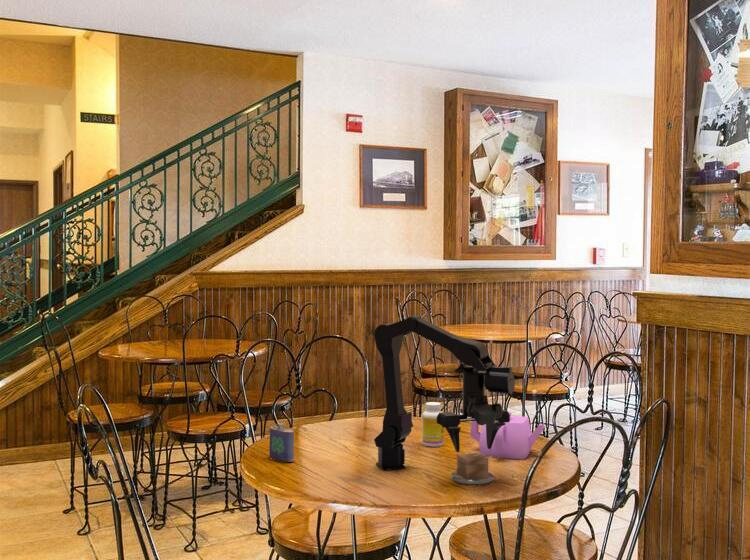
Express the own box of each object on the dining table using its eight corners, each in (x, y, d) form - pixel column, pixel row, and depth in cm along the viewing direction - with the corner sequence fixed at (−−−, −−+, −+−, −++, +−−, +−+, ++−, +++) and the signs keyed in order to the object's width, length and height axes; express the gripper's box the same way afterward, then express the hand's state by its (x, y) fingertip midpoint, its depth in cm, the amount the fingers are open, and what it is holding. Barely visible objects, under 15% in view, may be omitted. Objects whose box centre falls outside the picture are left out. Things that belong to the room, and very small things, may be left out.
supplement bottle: (444, 447, 222) (444, 405, 222) (422, 447, 222) (422, 405, 222) (442, 442, 229) (443, 401, 229) (421, 441, 229) (421, 401, 229)
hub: (463, 487, 183) (463, 472, 183) (444, 475, 194) (444, 460, 193) (501, 483, 187) (501, 467, 187) (481, 471, 197) (481, 456, 197)
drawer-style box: (467, 480, 186) (467, 460, 186) (456, 473, 192) (457, 454, 192) (488, 477, 188) (488, 457, 188) (477, 471, 194) (477, 452, 194)
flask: (295, 461, 207) (295, 424, 206) (288, 464, 204) (288, 426, 204) (273, 456, 213) (273, 419, 212) (266, 458, 210) (265, 421, 210)
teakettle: (466, 449, 220) (466, 408, 220) (513, 443, 227) (513, 404, 227) (498, 464, 205) (498, 420, 204) (547, 457, 212) (547, 415, 212)
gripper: (454, 398, 179) (454, 461, 179) (521, 393, 185) (521, 454, 185) (435, 390, 189) (435, 450, 190) (499, 386, 196) (499, 444, 196)
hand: (473, 450), depth 190 cm, fingers open, 9 cm apart
